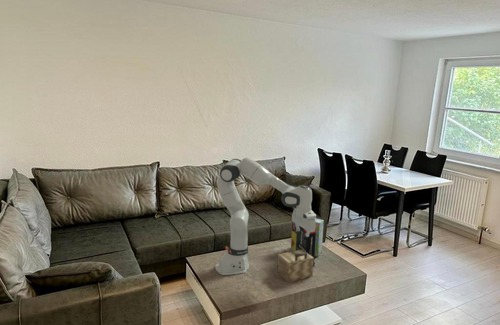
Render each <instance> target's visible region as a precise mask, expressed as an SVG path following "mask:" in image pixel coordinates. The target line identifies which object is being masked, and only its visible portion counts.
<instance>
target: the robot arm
mask: <svg viewBox="0 0 500 325" xmlns="http://www.w3.org/2000/svg"><path fill="white" fill-rule="evenodd" d="M241 176H244V177H246V178H247V179H249V180H250V181H251V182H252V183H255V184H257V185H258V186H264V185H269V186H271V187H272V188H274V189H276V190H277V191H278V192H281V194H282V195H281V198H280V200H281V203H282V204H283V206H285V207H290V208H291V207H294V208H293V211H292V214H291V223H292V222H294V223H295V225H296V230H297V231H300V228H299V226H301V227H302V228H304V229H305V230H306V232H307V233H305V236H306V237H309V234H310V232H314V231H315V228H316V220H315V218H316V219H317V214H316V213H315V212H314V211H313V210H312V202H313V191H312V188H311V187H310V186H308V185H305V184H301V185H300V184H299V185H298V186H296V185H292V184H289V183H287V182H285V181H283V180H282V179H280V177H278V176H276V175H274V174H273V173H272V172H270V171H269V170H267V169H266V167H264V166H263V165H261V164H260V163H259V162H257V161H255V160H254V159H252V158H249V157H244V158H242V159H239V158H233V159H230V160H228V161H227V162H226V163H225V164H224V165H223V166H222V167H221V168H220V170H219V176H218V177H217V179H216V186H217V191H218V192H219V195H220V197H221V198H220V199H221V200H222V202H223V205H224V207H225V208H226V209H227V210H228V212H229V214H230V219H229V229H230V230H229V231H230V246H225V250H226V251H227V252H226V253H224V255H222V256H220V258H219V260H218V263H216V264H215V266H214V269H215V271H216V272H217V273H218V274H220V275H222V276H229V275H237V274H246V273H247V271H248V270H249V269H250V264H249V260H248V259H249V258H248V254H249V252H248V251H249V246H248V241H249V240H248V237H249V235H248V224H249V217H250V214H249V211H248V209H247V207H246V206H245V204H244V202H243V201H242V198H241V196H240V194H239V192H238V189H237V187H236V184H235V180H236V179H238V178H239V177H241Z"/></svg>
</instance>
